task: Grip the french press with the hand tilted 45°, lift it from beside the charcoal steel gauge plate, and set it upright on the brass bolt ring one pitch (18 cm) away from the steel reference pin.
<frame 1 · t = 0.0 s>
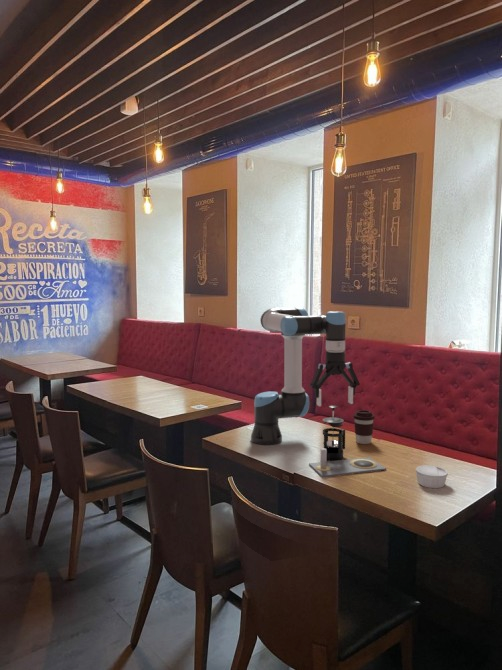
hand: (334, 404, 194), 28 cm above the table, tool pointing down, fingers open, 13 cm apart
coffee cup: (363, 442, 236), on the table
ramekin: (431, 484, 186), on the table
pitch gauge: (347, 467, 203), on the table
french press: (333, 457, 215), on the table
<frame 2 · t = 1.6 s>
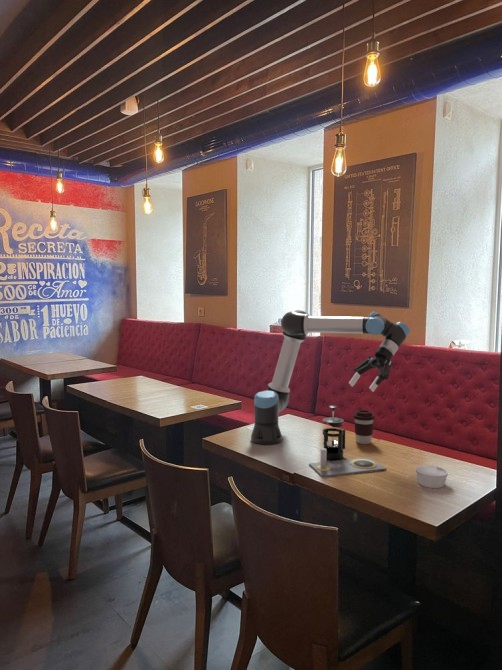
hand: (360, 387, 219), 30 cm above the table, tool tilted 45°, fingers open, 13 cm apart
nothing on the table moved.
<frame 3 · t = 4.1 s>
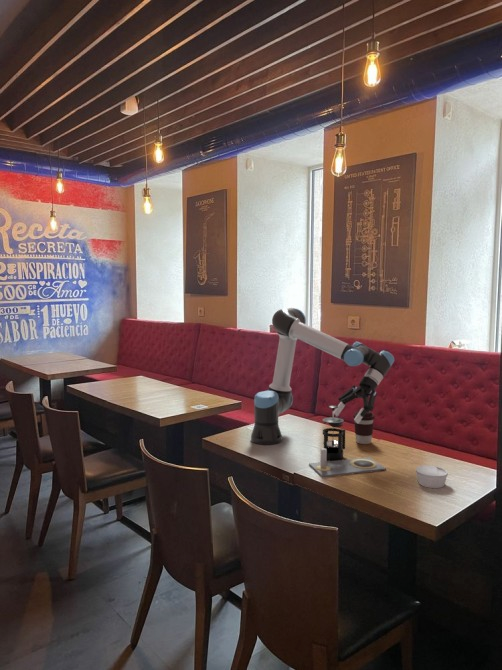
hand: (345, 418, 215), 17 cm above the table, tool tilted 45°, fingers open, 13 cm apart
nothing on the table moved.
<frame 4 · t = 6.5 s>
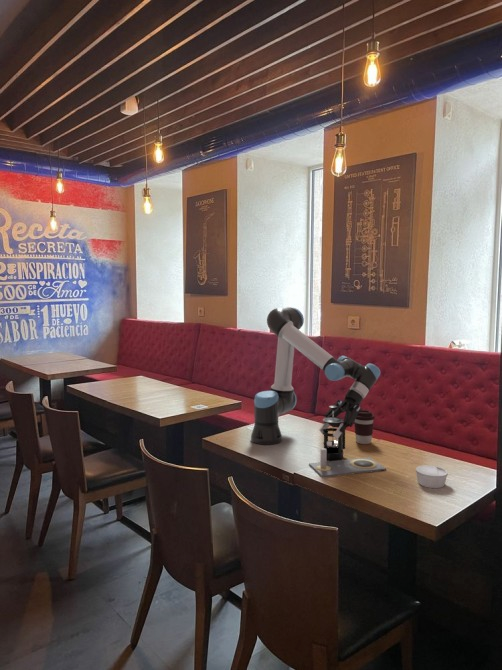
hand: (328, 434, 212), 11 cm above the table, tool tilted 45°, fingers closed on french press, 9 cm apart
french press: (333, 457, 215), on the table, touching gripper
everything else where it was.
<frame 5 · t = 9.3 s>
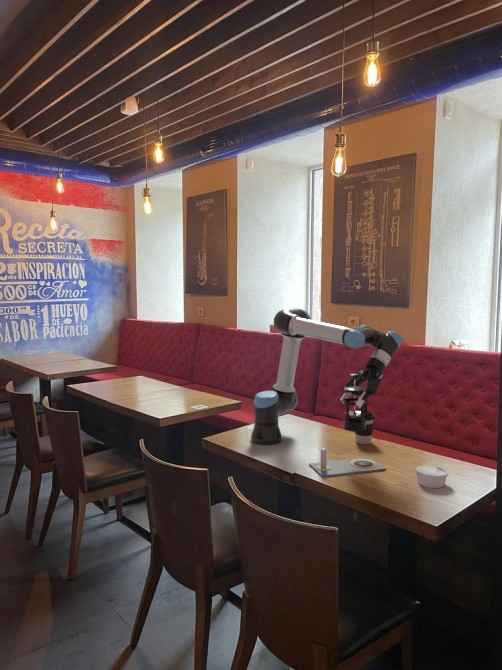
hand: (349, 403, 204), 26 cm above the table, tool tilted 45°, fingers closed on french press, 9 cm apart
french press: (355, 428, 206), point 15 cm above the table, touching gripper
everything else where it was.
when the fingers open (13 cm above the table, at t = 12.4 s): french press stays where it is, resting on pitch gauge.
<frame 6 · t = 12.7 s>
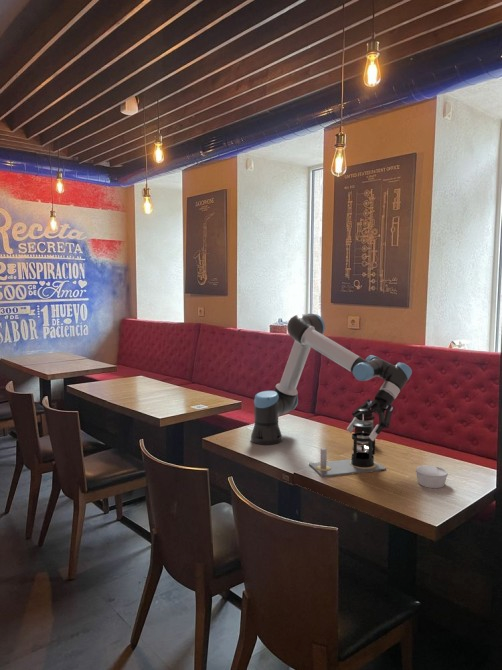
hand: (359, 435, 202), 14 cm above the table, tool tilted 45°, fingers open, 12 cm apart
french press: (363, 463, 205), point 1 cm above the table, touching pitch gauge
everything else where it was.
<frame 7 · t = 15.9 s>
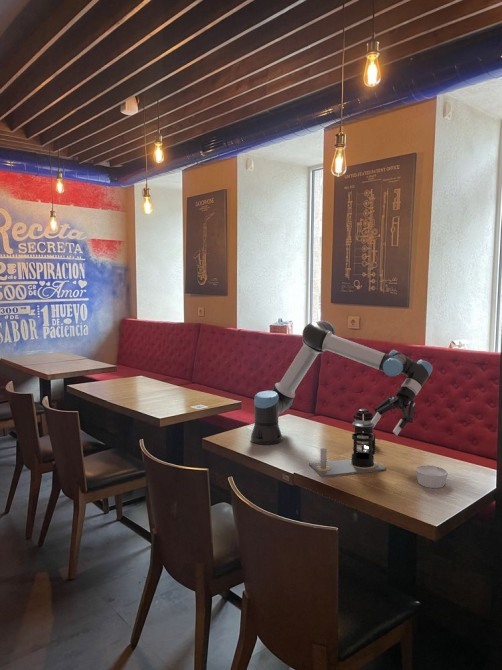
hand: (382, 429, 209), 14 cm above the table, tool tilted 45°, fingers open, 13 cm apart
nothing on the table moved.
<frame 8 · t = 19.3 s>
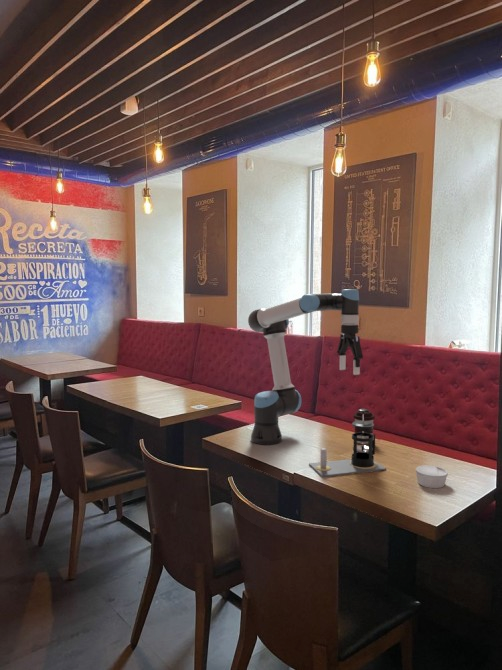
hand: (349, 372, 218), 37 cm above the table, tool pointing down, fingers open, 13 cm apart
nothing on the table moved.
at the end: french press 0.2 cm from the target spot on the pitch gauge, point 0.8 cm above the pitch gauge's base; french press tilted 0°; the gripper is holding nothing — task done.
